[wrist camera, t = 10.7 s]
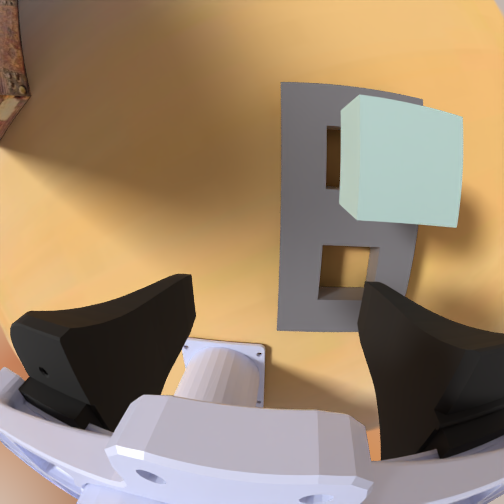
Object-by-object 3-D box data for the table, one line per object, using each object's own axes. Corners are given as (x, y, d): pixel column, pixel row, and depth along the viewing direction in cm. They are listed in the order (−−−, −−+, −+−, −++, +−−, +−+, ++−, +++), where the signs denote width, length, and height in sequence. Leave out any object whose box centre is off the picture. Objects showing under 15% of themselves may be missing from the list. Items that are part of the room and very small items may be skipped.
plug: (402, 201, 14) (456, 227, 9) (330, 196, 15) (356, 220, 9) (405, 127, 13) (462, 116, 7) (332, 117, 13) (359, 94, 8)
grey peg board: (388, 316, 22) (395, 330, 20) (277, 315, 23) (276, 330, 21) (410, 103, 16) (422, 99, 14) (281, 89, 17) (280, 82, 15)
